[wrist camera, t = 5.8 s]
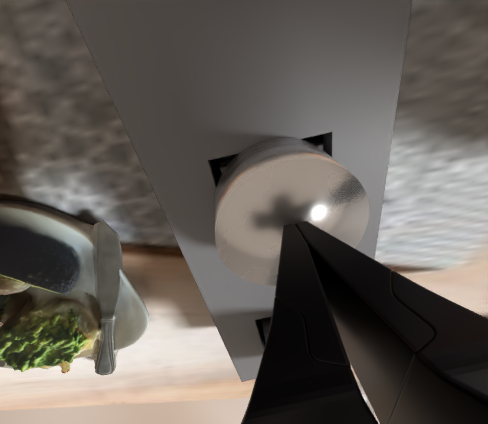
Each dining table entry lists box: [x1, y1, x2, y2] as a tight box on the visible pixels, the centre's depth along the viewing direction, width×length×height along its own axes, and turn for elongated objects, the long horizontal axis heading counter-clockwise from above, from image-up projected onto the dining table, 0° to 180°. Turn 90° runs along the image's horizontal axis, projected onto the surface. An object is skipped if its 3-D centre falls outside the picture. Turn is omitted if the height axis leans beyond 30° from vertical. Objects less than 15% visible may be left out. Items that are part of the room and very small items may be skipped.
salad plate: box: [0, 200, 149, 375], centre depth 18 cm, size 19×18×5 cm
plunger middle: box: [215, 137, 369, 286], centre depth 12 cm, size 6×6×7 cm
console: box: [66, 0, 412, 382], centre depth 13 cm, size 10×33×5 cm, turn 11°
